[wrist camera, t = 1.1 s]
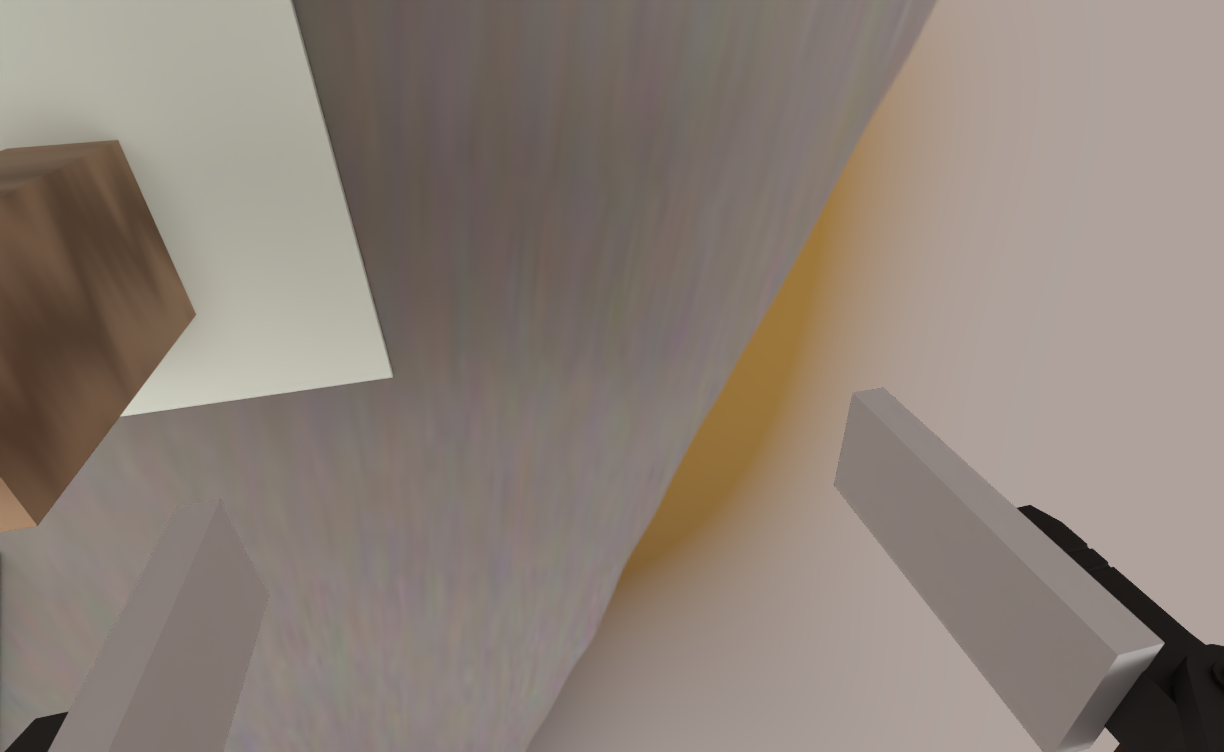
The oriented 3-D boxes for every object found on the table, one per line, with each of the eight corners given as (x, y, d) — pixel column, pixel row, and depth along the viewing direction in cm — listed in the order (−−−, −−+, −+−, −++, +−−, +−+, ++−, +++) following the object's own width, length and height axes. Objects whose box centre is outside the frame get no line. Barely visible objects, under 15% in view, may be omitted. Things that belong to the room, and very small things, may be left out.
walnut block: (6, 148, 25) (-378, 294, 13) (117, 139, 25) (-157, 271, 14) (103, 326, 29) (-123, 552, 18) (196, 314, 30) (37, 525, 18)
